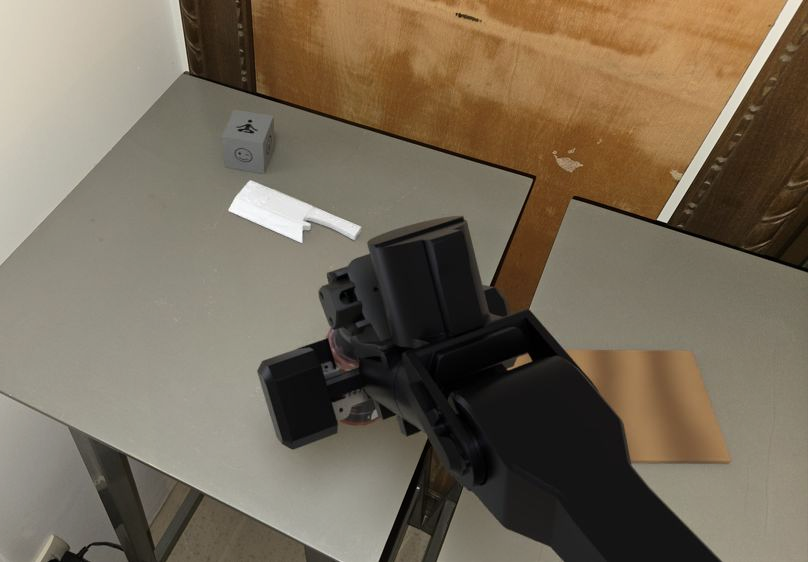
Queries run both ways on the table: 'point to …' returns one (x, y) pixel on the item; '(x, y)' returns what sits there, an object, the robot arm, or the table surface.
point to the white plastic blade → (285, 213)
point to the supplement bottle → (347, 361)
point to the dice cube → (248, 141)
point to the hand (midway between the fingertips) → (353, 344)
